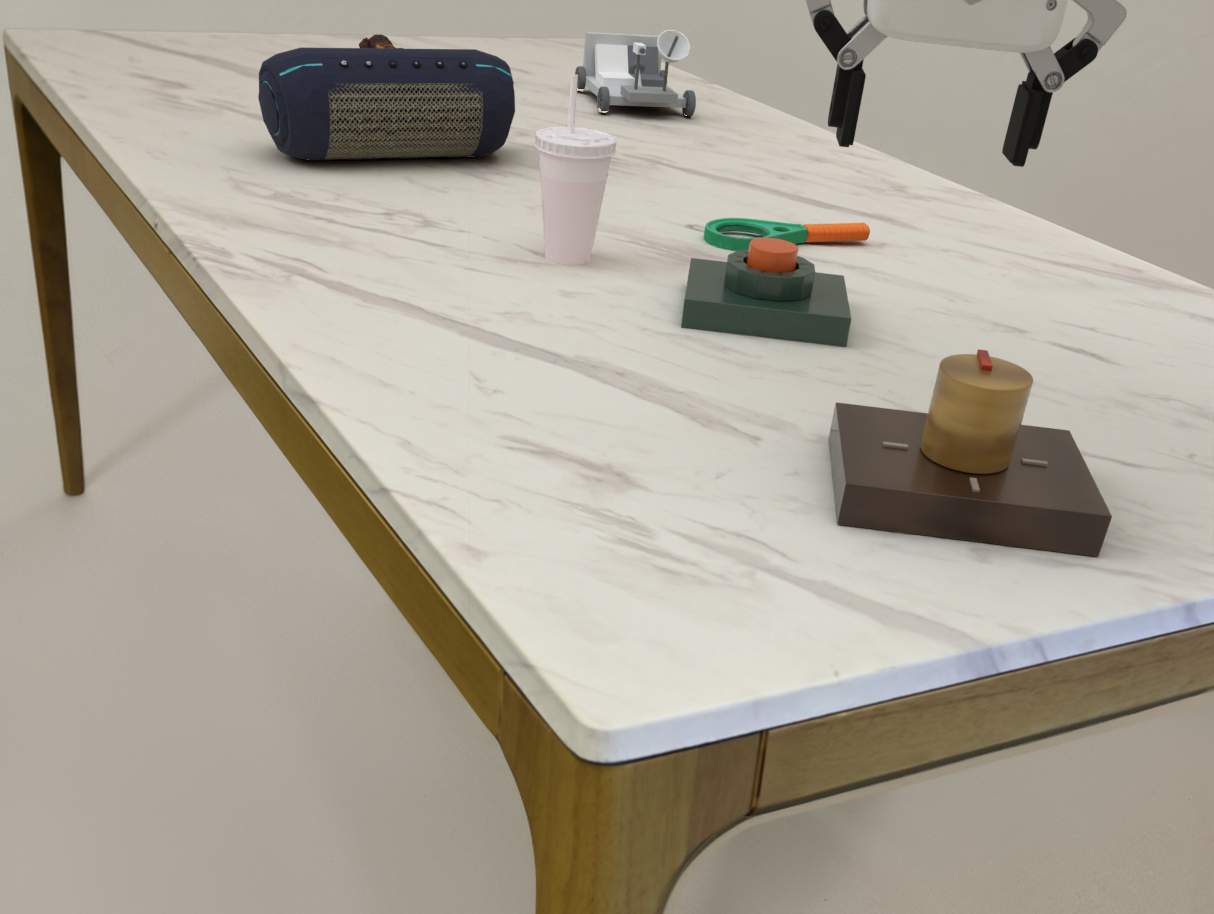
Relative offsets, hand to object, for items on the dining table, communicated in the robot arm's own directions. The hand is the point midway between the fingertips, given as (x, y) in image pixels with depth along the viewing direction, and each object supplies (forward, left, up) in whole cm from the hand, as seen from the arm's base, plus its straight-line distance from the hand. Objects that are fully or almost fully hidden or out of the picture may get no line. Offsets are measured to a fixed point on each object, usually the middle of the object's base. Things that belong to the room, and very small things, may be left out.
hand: (927, 151), depth 72 cm
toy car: (+23, -89, -17) cm, 94 cm away
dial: (-4, +10, -14) cm, 17 cm away
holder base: (-4, +10, -17) cm, 20 cm away
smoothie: (+23, -25, -17) cm, 38 cm away
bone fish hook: (+50, -91, -17) cm, 105 cm away
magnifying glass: (+5, -37, -17) cm, 41 cm away
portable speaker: (+44, -51, -17) cm, 70 cm away
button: (+7, -17, -13) cm, 23 cm away
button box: (+7, -17, -17) cm, 25 cm away
